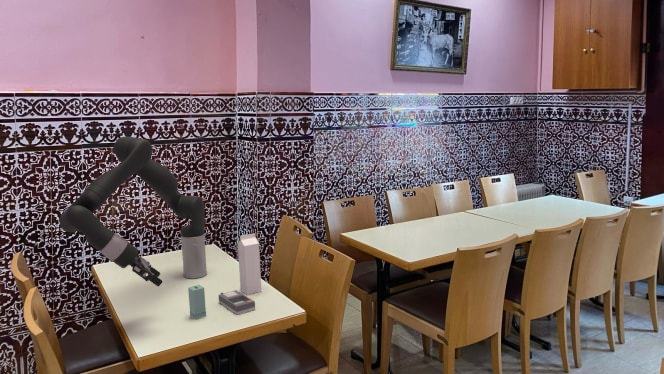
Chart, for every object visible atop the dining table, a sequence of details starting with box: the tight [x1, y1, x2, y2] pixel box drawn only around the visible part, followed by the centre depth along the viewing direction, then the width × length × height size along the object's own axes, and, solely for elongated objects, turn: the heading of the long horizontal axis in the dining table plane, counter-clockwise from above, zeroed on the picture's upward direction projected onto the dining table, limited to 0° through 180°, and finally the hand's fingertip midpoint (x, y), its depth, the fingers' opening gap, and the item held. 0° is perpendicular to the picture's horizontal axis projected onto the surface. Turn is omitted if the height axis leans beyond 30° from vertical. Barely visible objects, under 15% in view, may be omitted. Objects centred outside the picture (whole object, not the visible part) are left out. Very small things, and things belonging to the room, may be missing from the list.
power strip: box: [218, 289, 256, 315], centre depth 197 cm, size 19×7×3 cm, turn 37°
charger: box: [187, 284, 207, 320], centre depth 187 cm, size 4×4×10 cm
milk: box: [237, 232, 262, 296], centre depth 208 cm, size 6×6×22 cm
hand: (159, 279), depth 182 cm, fingers open, 8 cm apart
